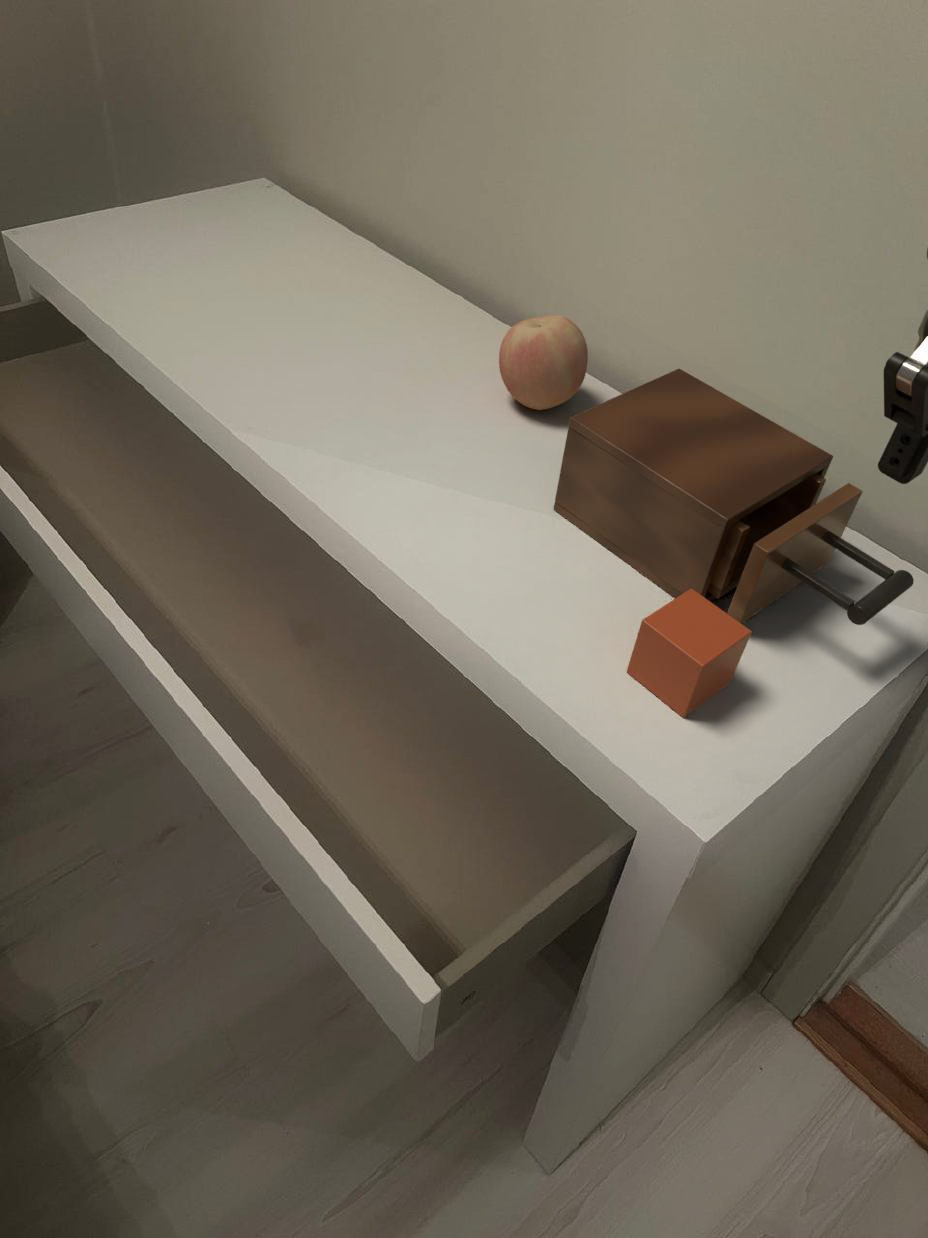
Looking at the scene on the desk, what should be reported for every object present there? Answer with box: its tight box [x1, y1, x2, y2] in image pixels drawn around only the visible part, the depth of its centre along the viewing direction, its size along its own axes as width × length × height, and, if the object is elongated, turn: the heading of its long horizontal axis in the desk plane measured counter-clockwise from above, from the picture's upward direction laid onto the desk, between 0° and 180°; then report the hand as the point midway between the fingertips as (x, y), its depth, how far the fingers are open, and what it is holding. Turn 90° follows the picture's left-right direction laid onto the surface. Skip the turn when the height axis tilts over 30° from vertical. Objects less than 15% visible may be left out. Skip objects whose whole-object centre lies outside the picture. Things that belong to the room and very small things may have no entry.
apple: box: [498, 314, 589, 411], centre depth 83 cm, size 8×8×8 cm
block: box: [626, 589, 753, 719], centre depth 61 cm, size 5×5×5 cm
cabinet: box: [553, 368, 834, 603], centre depth 71 cm, size 15×13×9 cm
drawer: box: [708, 473, 915, 626], centre depth 67 cm, size 20×11×7 cm, turn 41°
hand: (897, 473), depth 57 cm, fingers closed
